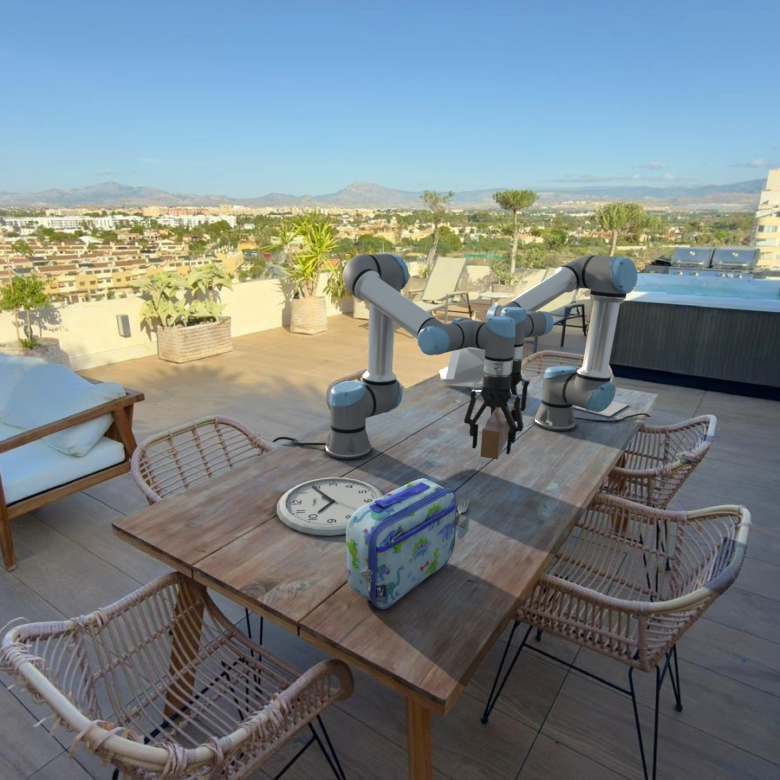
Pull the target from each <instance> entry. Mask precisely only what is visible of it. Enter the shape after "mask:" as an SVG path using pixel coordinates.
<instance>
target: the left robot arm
mask: <svg viewBox="0 0 780 780" xmlns="http://www.w3.org/2000/svg"><path fill="white" fill-rule="evenodd" d="M409 279H410V272H409V268H408V265H407V263H406V262H405V261H404V259H403V258H402V257H401V256H400V255H397V254H395V253H369V254H365V253H363V254H357V255H354V256H353V257H352V258H350V259H348V260H347V262H346V263H345V265H344V268H343V272H342V280H343V283H344V286H345V288H346V289H347V291H348V292H349V293H350V294H351V295H352V296H354V297H355V298H356V299H358V300H359V301H361V302H362V301H363V302H364V301H366V302H367V303H368V308H369V309H368V332H367V333H368V334H367V335H368V336H367V364H366V366H367V369H366V371H365V372H364V373H363V374H362V381H360V380H345V381H341V382H338V383H336V384H335V385H334V386H332V388H331V390H330V394H329V396H330V397H329V404H330V405H329V406H330V430H329V431H330V432H329V435H328V437H327V440H326V442H299V441H298V439H296V438H294V437H289V436H278V437H276V438H274V439H272V440H271V442H272V443H276V442H278V441H280V440H286V441H290V442H291V441H292V442H295V444H296V445H297V446H325V453H326V455H327V456H329V457H331V458H333V459H337V460H343V461H353V460H359V459H362V458H365V457H367V456H369V454H371V451H372V444H371V441H372V438H370V439H369V435H368V433H367V429H366V425H367V424H366V423H367V421H366V420H367V418H371V417H374V416H378V415H382V414H387V413H389V412H390V411H392V410H395V409H397V408H398V407H399V406H400V404H401V402H402V400H403V386H401V382H400V381H399V380H398V378H397V375H396V374H395V372H393V366H394V365H393V364H394V343H395V341H394V340H395V324H397V325H398V326H399V327H401V329H404V330H405V332H407V333H408V334H410V335H411V336H413V337H414V338H415V339H416V340H417V345H418V347H419V349H420V351H421V352H422V353H423V354H425V355H427V356H439V355H443V354H447V353H450V352H452V351H455V350H460V349H464V348H468V347H472V348H477V349H482V350H485V361H484V372H485V374H484V375H483V380H482V387H481V390H480V389H479V390H477V389H475V388H474V389H472V390H471V392H470V401H469V404H468V407H467V409H466V413H465V417H464V420H463V422H464V424H468V425H469V437H472V446H471V449H474V450H475V449H476V448H477V446H478V438H479V437H478V435H479V424H477V422H478V420H479V419H480V417H481V416H482V414H483V413H484V411H485V410H486V408H487V405H489V406H491V407H492V406H495V407H498V408H500V407H501V410H502V411H503V413H504V415H505V418H506V420H507V422H508V425H509V427H510V430H509V432H508V439H507V441H506V452H505V454H506V455H510V453H511V451H512V444H515V442H516V440H517V439H516V438H517V432H518V433H519V432H522V431H523V430H524V420H523V413H522V411H521V401H522V394H517V395H512V394H511V392H510V386H511V375H510V374H511V373H512V364H513V349H514V341H515V336H516V334H515V320H514V319H513V318H510V317H503V316H492V317H489V318H488V320H487V319H486V322H485V321H481V320H476V319H475V320H474V319H469V318H462V317H458V318H454V319H453V321H451V322H449V323H444V322H442V321H441V320H439V319H437V318H436V317H435V316H433V315H432V314H430V313H429V312H428V311H426V310H425V309H423V308H422V307H420V306H419V305H418V304H416V302H414V301H413V300H411V299H409V298H408V297H407V296H406V295H404V294H402V293H401V292H402V290H403V289H404V288H406V286H407V285H408V283H409ZM480 396H481V398H482V400H484V401H483V403H482V404H481V406H480V408H479V409H478V411H476V414H475V415H474V417H473V418H472V415H473V411H474V408H475V405H476V402H477V400H478V399H479V397H480ZM510 400H511V402H512V404H514V403H515V404H514V407H515V409H514V410H515V414H516V421H517V422H516V421H515V422H514V420H513V417H512V415H511V412H510V410H509V408H508V404H507V403H508V401H510Z"/></svg>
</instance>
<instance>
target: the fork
mask: <svg viewBox="0 0 780 780" xmlns="http://www.w3.org/2000/svg"><path fill="white" fill-rule="evenodd" d="M464 498H465V497H460V499H459V502H458V505H457V506H456V512H458V513H457V514H456V526H457V525H458V524H459V520H460V516H461V514H463V513H465V512H467V511H468V506H469V500H470V498H467V499H464ZM466 501H467V502H466Z"/></svg>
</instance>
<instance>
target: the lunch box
mask: <svg viewBox="0 0 780 780" xmlns="http://www.w3.org/2000/svg"><path fill="white" fill-rule="evenodd" d="M456 498H457V496H456V493H455V491H454V489H452V488H450V487H443V486H441V485H439V484H438V483H436V482H433V481H432V480H430V479H427V478H423V477H422V478H418V479H416V480H413V481H411V482H409V483H406V484H405V485H402V486H400V487H398V488H396V489H394V490H392V491H390V492H388V493H386V494H384V496H382V497H380V498H378V499H376V500H374V501H372V502H370V503H368V504H366V505H364V506H362V507H360V508H358V509H357V510H356V511H355V512H354V513H353V514H352V515H351V517H350V519H349V521H348V524H347V528H346V534H345V547H346V549H345V550H346V572H347V573H346V575H347V584H348V587H349V589H350V590H351V591H353V592H355V593H357V594H358V595H361V596H363V597H364V598H365V599H367V600H368V601H369V602H371V604H372V605H373V606H374V607H376V608H377V609H380V610H386V609H389V608H391V607H393V605H395V603H397V602H398V601H399V600H400V599H402V598H403V597H404V596H405V595H408V593H410V592H411V591H412V590H413V589H415V588H416V587H417V586H419V585H420V584H421V583H423V581H424V580H425V579H427V578H428V577H430V576H431V575H433V574H435V573H437V572H438V571H439V570H441V569H442V568H443V567H444V566H446V564H447V563H448V562H449V560H450V559H451V556H452V555H453V552H454V548H455V544H456V531H457V530H456V529H457V525H456V516H457V499H456Z"/></svg>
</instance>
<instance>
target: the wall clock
mask: <svg viewBox="0 0 780 780" xmlns="http://www.w3.org/2000/svg"><path fill="white" fill-rule="evenodd" d="M384 495H385V494H384V493H383V492H382V491H381V490H380V489H379V488H377V487H376V486H374V485H372V484H371V483H369V482H365V481H362V480H359V479H355V478H349V477H338V476H337V477H335V476H333V477H332V476H331V477H322V478H317V479H312V480H307V481H305V482H302V483H299V484H297V485H295V486H293V487H292V488H290V489H288V490H287V491H286V492H285V493H284V494H283V495H281V496H280V498H279V499H278V502H277V503H276V515H277V517H278V518H279V520H280V521H281V522H282V523H283V524H285V525H286V526H287V527H288V528H290V529H293V530H295V531H297V532H299V533H303V534H308V535H312V536H327V537H328V536H329V537H331V536H332V537H333V536H342V535H346V528H347V524H348V521H349V519H350V517H351V515H352V514H353V513H354V512H355V511H356V510H357V509H358V508H360V507H362V506H364V505H366V504H368V503H370V502H372V501H374V500H376V499H378V498H380V497H382V496H384Z"/></svg>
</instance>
